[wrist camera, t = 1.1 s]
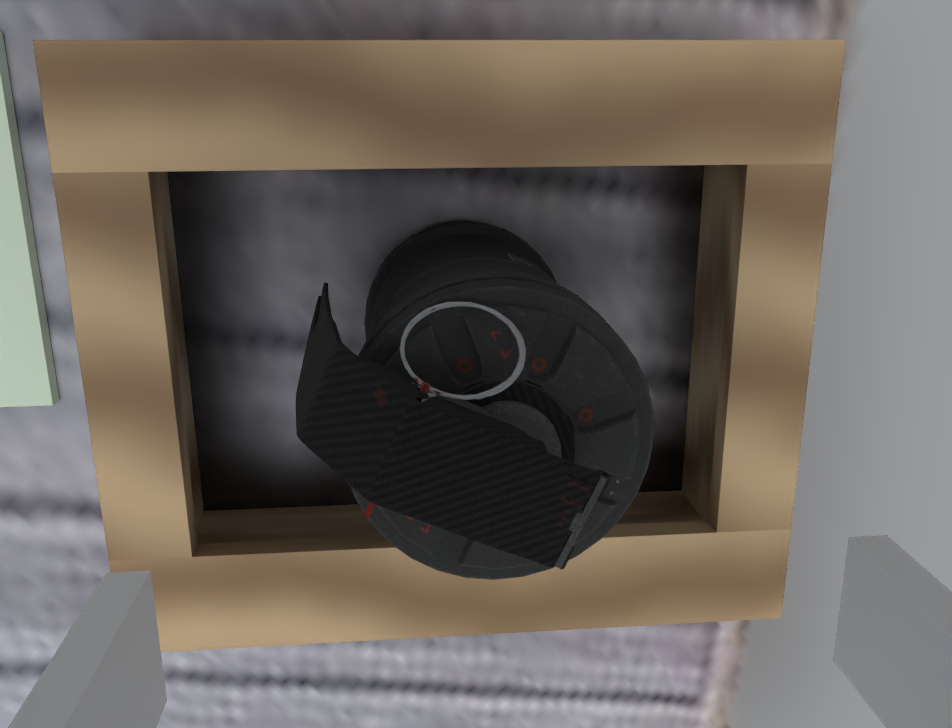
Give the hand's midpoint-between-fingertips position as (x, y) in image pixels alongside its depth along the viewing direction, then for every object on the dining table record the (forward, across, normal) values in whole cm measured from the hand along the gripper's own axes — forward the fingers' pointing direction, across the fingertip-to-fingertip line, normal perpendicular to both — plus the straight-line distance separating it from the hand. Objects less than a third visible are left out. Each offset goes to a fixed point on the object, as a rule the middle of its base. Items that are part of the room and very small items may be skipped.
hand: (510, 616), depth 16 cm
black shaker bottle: (+26, 0, 0) cm, 26 cm away
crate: (+25, 0, 0) cm, 25 cm away
